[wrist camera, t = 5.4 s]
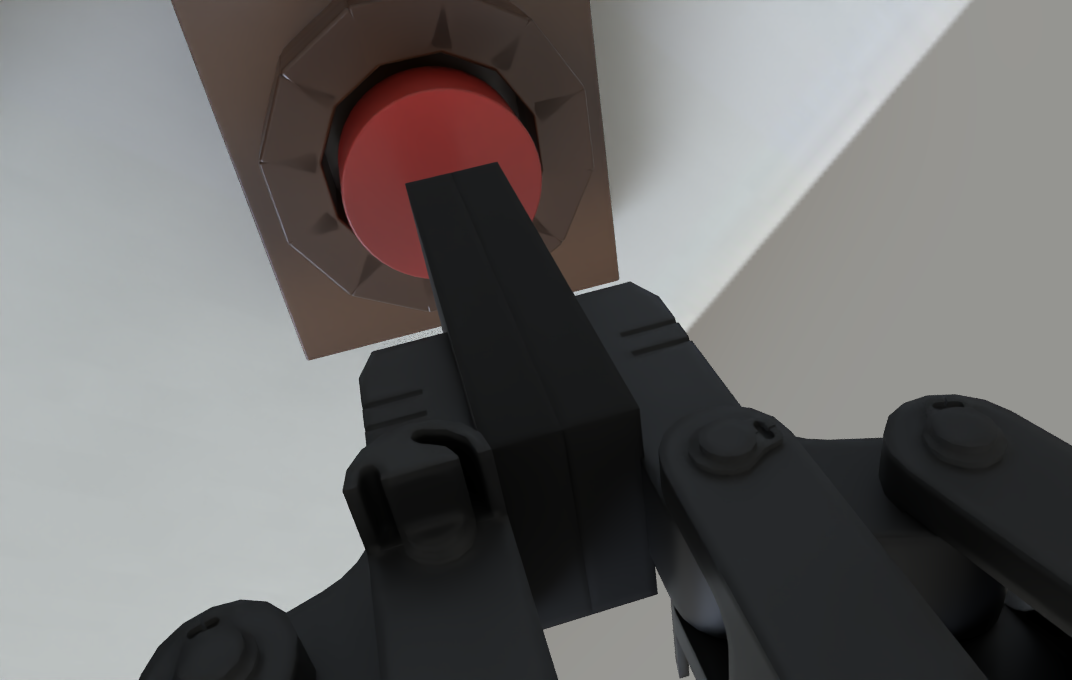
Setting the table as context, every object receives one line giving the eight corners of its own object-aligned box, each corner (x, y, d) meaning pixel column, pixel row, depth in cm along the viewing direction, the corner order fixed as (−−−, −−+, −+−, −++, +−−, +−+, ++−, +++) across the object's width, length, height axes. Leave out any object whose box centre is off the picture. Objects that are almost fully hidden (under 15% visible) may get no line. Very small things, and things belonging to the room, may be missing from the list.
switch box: (165, -76, 18) (131, -49, 14) (542, -148, 19) (602, -141, 15) (306, 310, 23) (307, 402, 20) (590, 238, 24) (642, 313, 21)
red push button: (313, 88, 16) (314, 114, 15) (507, 46, 17) (525, 67, 15) (365, 263, 19) (371, 300, 17) (535, 221, 19) (555, 254, 18)
